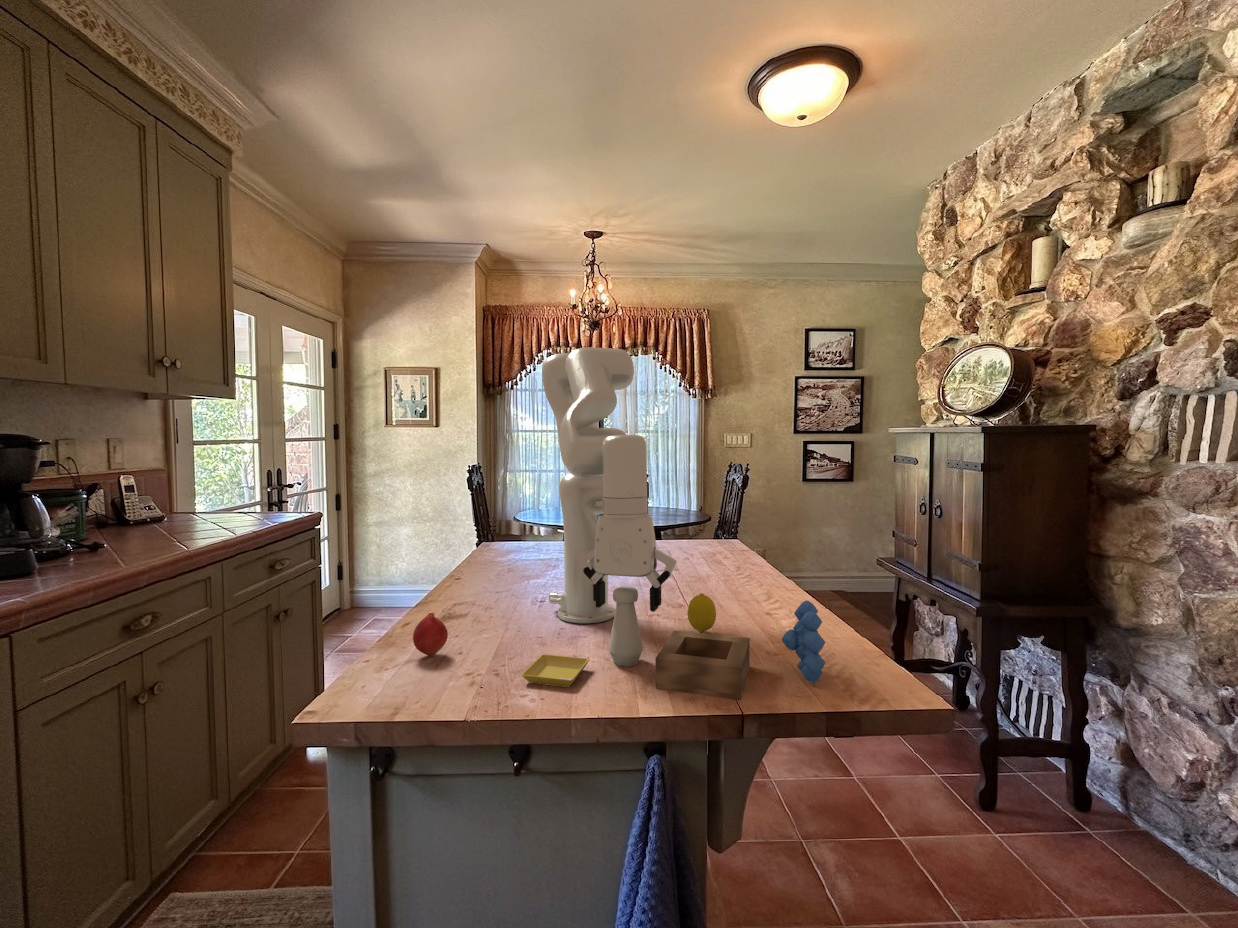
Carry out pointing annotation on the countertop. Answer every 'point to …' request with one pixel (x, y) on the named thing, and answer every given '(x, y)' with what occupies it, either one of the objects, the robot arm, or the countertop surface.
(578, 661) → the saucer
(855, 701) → the countertop surface
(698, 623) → the lemon
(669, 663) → the shaker holder
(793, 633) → the grapes
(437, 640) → the onion
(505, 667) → the countertop surface
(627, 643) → the salt shaker
